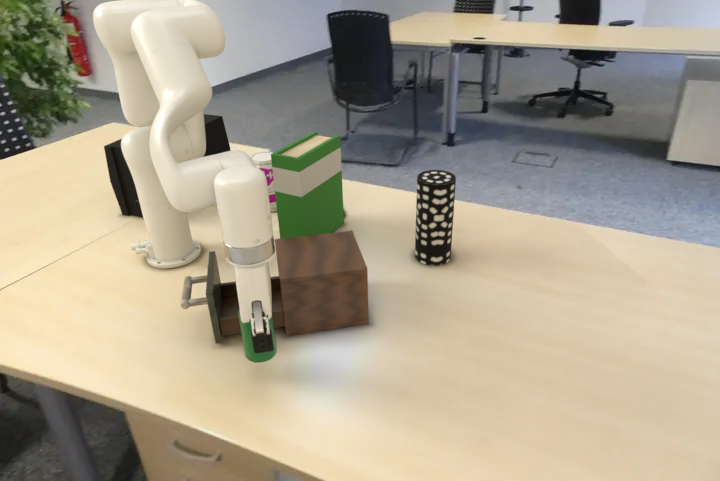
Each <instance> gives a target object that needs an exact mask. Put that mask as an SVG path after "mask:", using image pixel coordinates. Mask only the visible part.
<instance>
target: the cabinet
mask: <svg viewBox="0 0 720 481" xmlns="http://www.w3.org/2000/svg"><path fill="white" fill-rule="evenodd" d="M358 243H359V242H358V241H357V238H356V236H355V234H354V231H353V230H352V229H351V230H343V231H334V232H333V233H326V234H317V235H308V236H300V237H291V238H283V239H280V238H275V239H274V245H275V256H276V263H277V271H278V276H279V277H280V285H281V294H282V303H283V311H284V320H285V326H284V327H285V328H284V330H285V336H286V337H291V336H297V335H298V336H299V335H306V334H313V333H317V332H318V333H319V332H327V331H332V330H339V329H346V328H353V327H360V326H367V325H369V322H370V321H369V282H368V281H369V280H368V279H369V278H368V276H369V274H368V266H367V263H366V262H365V258H364V256H363V254H362V251H361V249H360V246H359V244H358Z"/></svg>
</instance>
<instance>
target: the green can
mask: <svg viewBox="0 0 720 481" xmlns="http://www.w3.org/2000/svg"><path fill="white" fill-rule="evenodd" d="M264 314H265V313H264V312H262V315H264ZM238 316H239V322H240V328H241V333H240V335H241V339H242V344H243V345H242V346H243V350H244V356H245V358H246V359H247V360H248V361H249V362H252V363H255V364H256V363H259V364H261V363H265V362H268V361H270V360H273V358H274V357H275V356H276V354H277V351H278V348H277V340H276V332H275V328H274V324H273V317H271V318H270V319H269V320H268V321H269V329H270V330H271V331H272V339H273V346H274V350H273V351H270V352H263V353H254V348H253V342H252V336H251V333H252V327H251V321H249V322H246V323H243V322H242V321H241V316H240V309H239V311H238ZM253 316H254V314H253ZM263 325H264V326H266V324H265V320H263Z"/></svg>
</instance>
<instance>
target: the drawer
mask: <svg viewBox="0 0 720 481" xmlns="http://www.w3.org/2000/svg"><path fill="white" fill-rule="evenodd" d="M270 278H271V294H272V317H273V324H274V329H275V328H276V329H277V328H283V327H285V320H284V311H283V303H282V294H281V285H280V277H279V275H276V276H270ZM202 283H206V284H205V296H204V297H197V298H192V292H193V291H192V290H193V285H197V284H202ZM205 305H207V308H208V313H209V316H210V317H209V318H210V322H211V327H212V333H213V337H214V342H215V344H222V343H223V336H227V335H234V334H241V328H240V322H239V316H238V311H239V309H240V308H239V301H238V294H237V288H236V281H228V282H227V281H226V282H222V281H221V275H220V270H219V264H218V259H217V254H216V250H212V251H208V260H207V273H206V275H199V276H191V275H186V276H185V277H184V279H183V287H182V293H181V300H180V307H181V309H182V310H188V309H189V308H192V307H198V306H199V307H200V306H205Z"/></svg>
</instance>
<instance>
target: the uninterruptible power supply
mask: <svg viewBox="0 0 720 481" xmlns="http://www.w3.org/2000/svg"><path fill="white" fill-rule="evenodd" d="M204 124H205V136H206V152H205V155H204V156H203V157H205V156H209V155H215V154H219V153H223V152H227V151H231V146H230V141H229V138H228V133H227V131H226V126H225V121H224V118H223V115H217V114H216V115H215V114H206V113H204ZM121 140H122V138H120V139H117V140H115V141H112V142H110V143H107V144H106V145H103V149H104V154H105V159H106V165H107V172H108V176H109V180H110V181H109V182H110V185H111V187H112V190H113V193H114V195H115V198H116V201H117V204H118V207H119V210H120V212H121V215H122V216H126V217H130V216H132V217H138V218H143V214H142V210H141V206H140V202H139V198H138V194H137V190H136V187H135V183H134V180H133V177H132V175H131V172H130V169H129V167H128V165H127V162H126V160H125V158H124V155H123V153H122V149H121ZM143 219H144V218H143Z"/></svg>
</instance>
